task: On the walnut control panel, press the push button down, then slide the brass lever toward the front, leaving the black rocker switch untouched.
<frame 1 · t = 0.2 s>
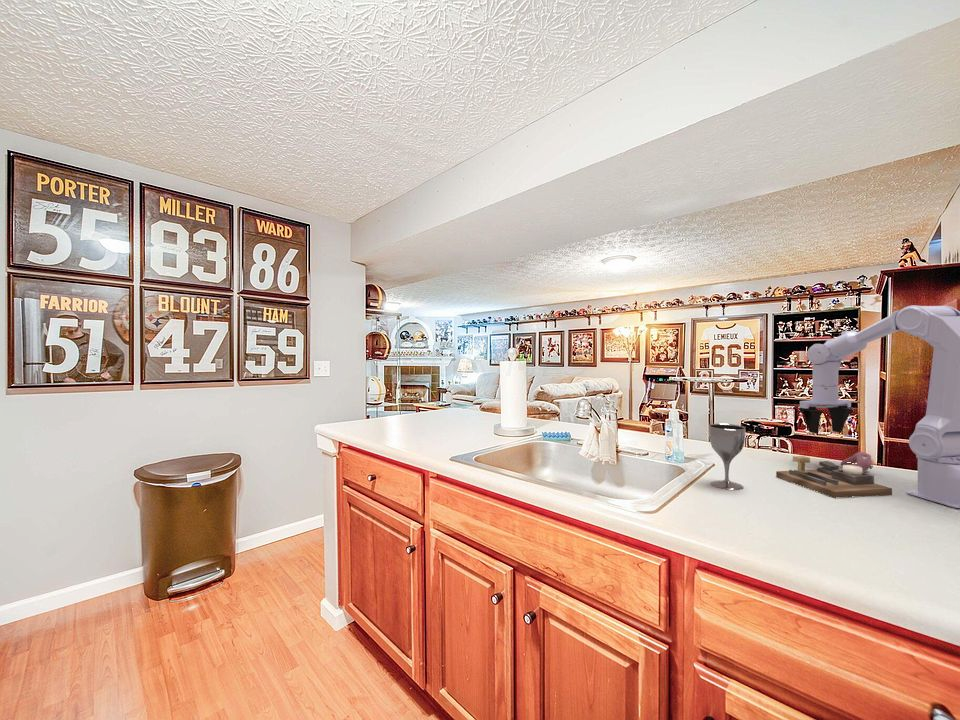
hand: (825, 432, 118), 10 cm above the counter, tool pointing down, fingers open, 7 cm apart
control panel: (830, 485, 102), on the counter
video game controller: (856, 473, 112), on the counter
rocker switch: (828, 465, 107), point 3 cm above the counter, hinge at -8.0°
slide lever: (801, 465, 105), point 4 cm above the counter, slide at 0.0 cm
wine glass: (726, 485, 103), on the counter
push button: (852, 470, 100), point 4 cm above the counter, slide at 0.0 cm
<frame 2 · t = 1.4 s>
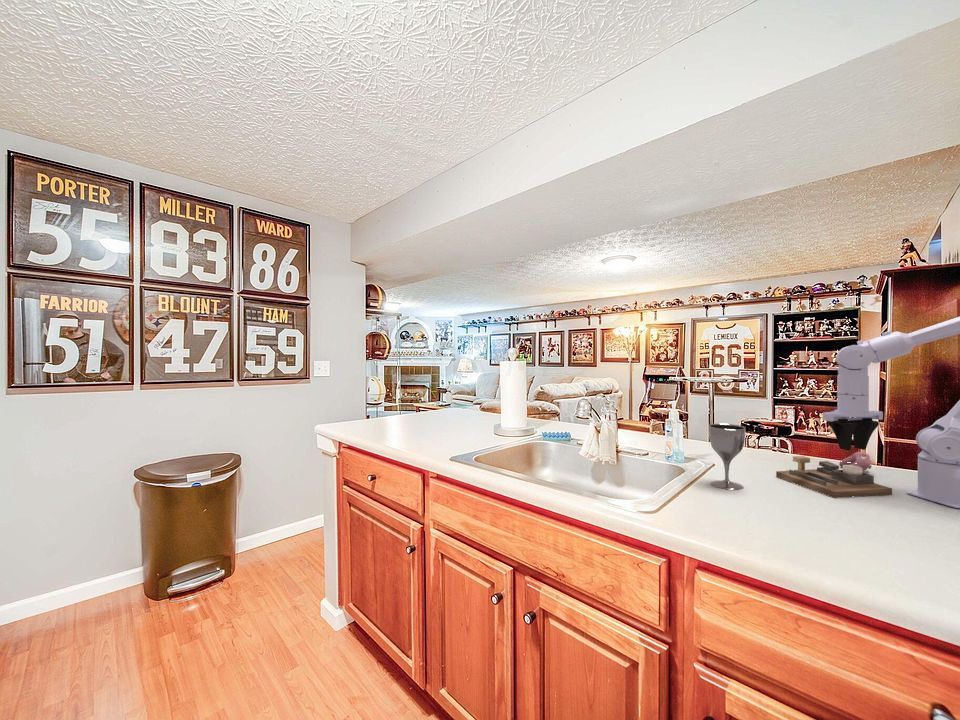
hand: (852, 449, 100), 9 cm above the counter, tool pointing down, fingers open, 4 cm apart
nothing on the counter moved.
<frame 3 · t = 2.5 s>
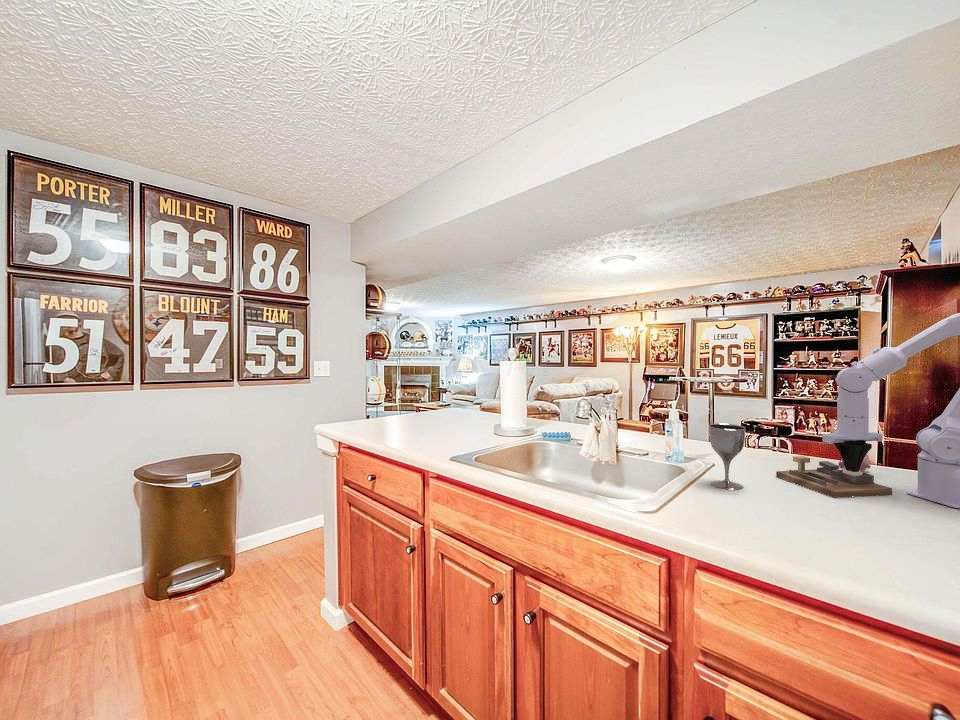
hand: (852, 470, 100), 4 cm above the counter, tool pointing down, fingers closed, pressing on push button
push button: (852, 474, 100), point 3 cm above the counter, slide at 1.0 cm, touching gripper
everything else where it was.
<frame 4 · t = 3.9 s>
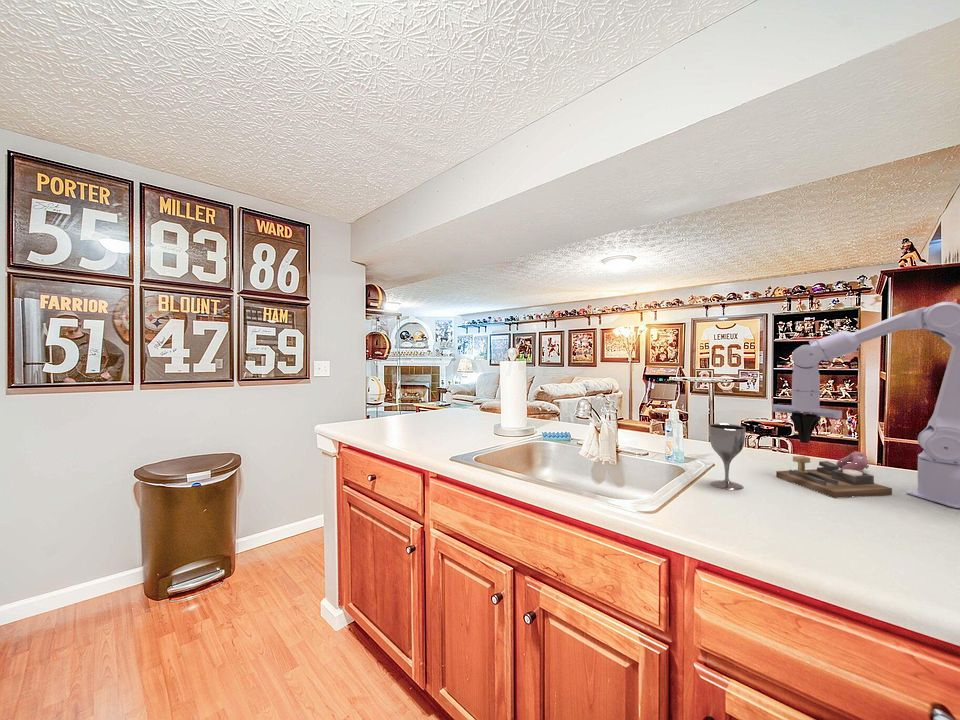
hand: (804, 442, 107), 10 cm above the counter, tool pointing down, fingers closed
push button: (852, 475, 100), point 3 cm above the counter, slide at 1.1 cm
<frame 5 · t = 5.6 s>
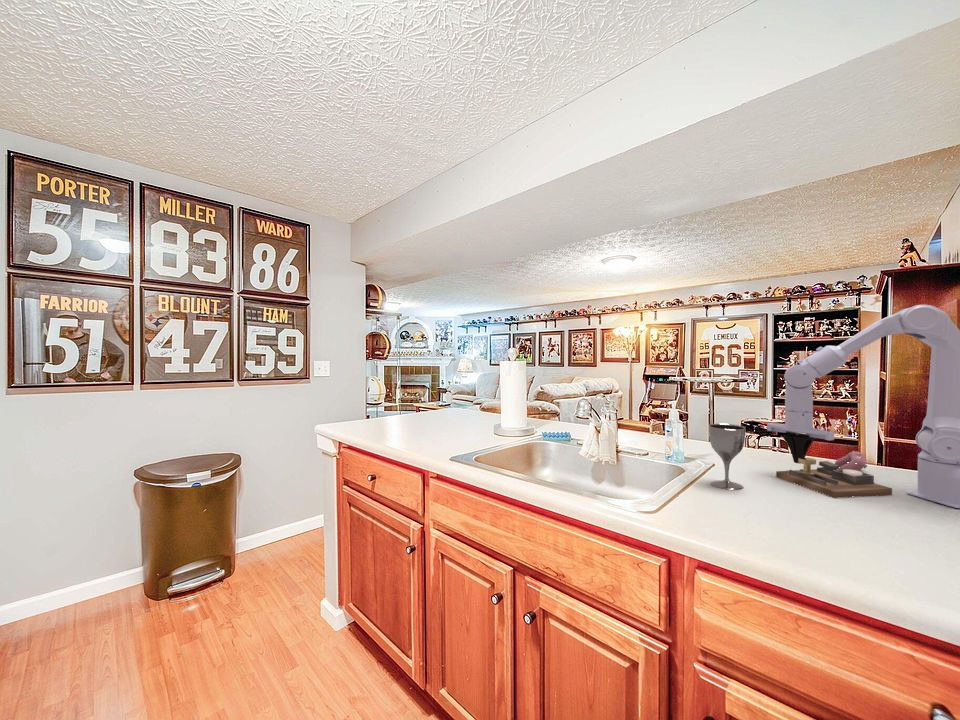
hand: (798, 462, 106), 5 cm above the counter, tool pointing down, fingers closed
slide lever: (807, 467, 104), point 4 cm above the counter, slide at 1.6 cm, touching gripper
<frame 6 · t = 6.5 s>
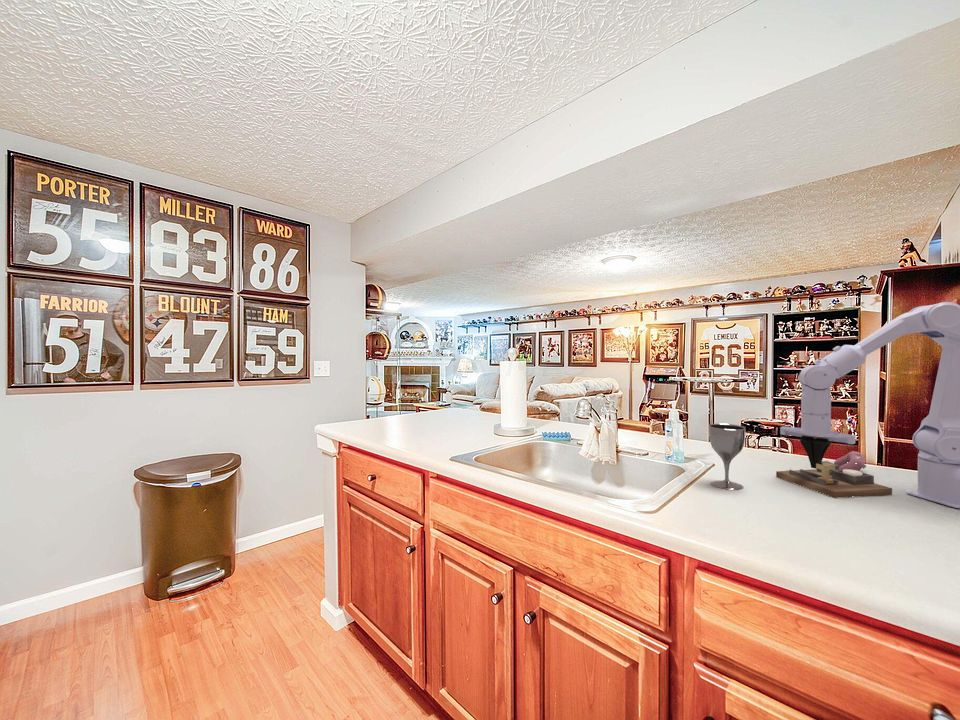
hand: (815, 467, 101), 5 cm above the counter, tool pointing down, fingers closed
slide lever: (825, 473, 99), point 4 cm above the counter, slide at 6.5 cm, touching gripper
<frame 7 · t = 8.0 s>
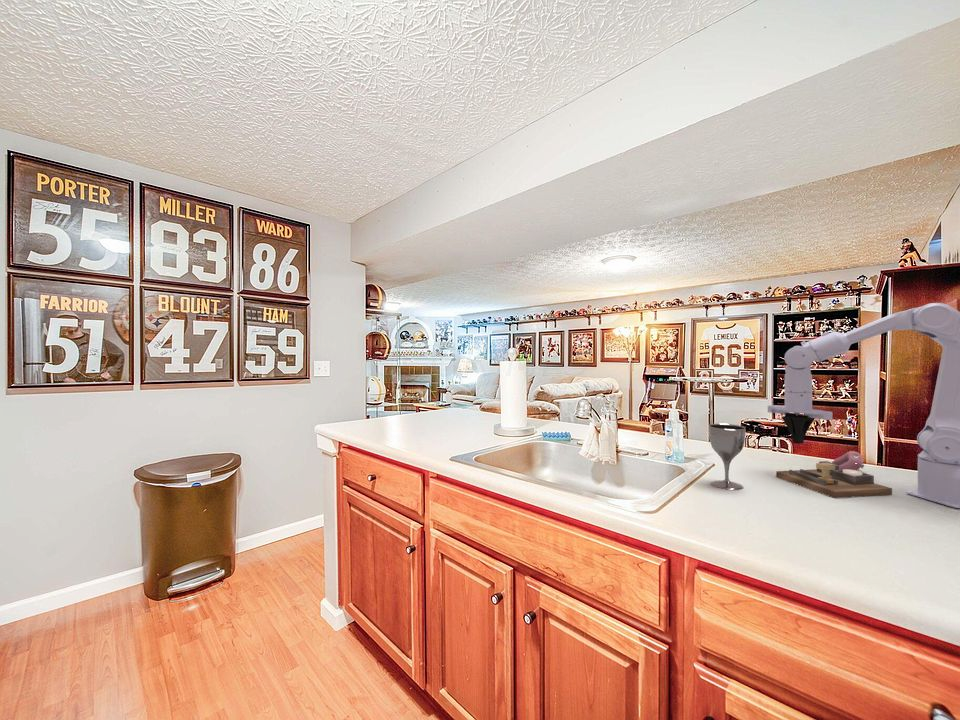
hand: (798, 443, 107), 9 cm above the counter, tool pointing down, fingers closed
slide lever: (825, 473, 99), point 4 cm above the counter, slide at 6.5 cm
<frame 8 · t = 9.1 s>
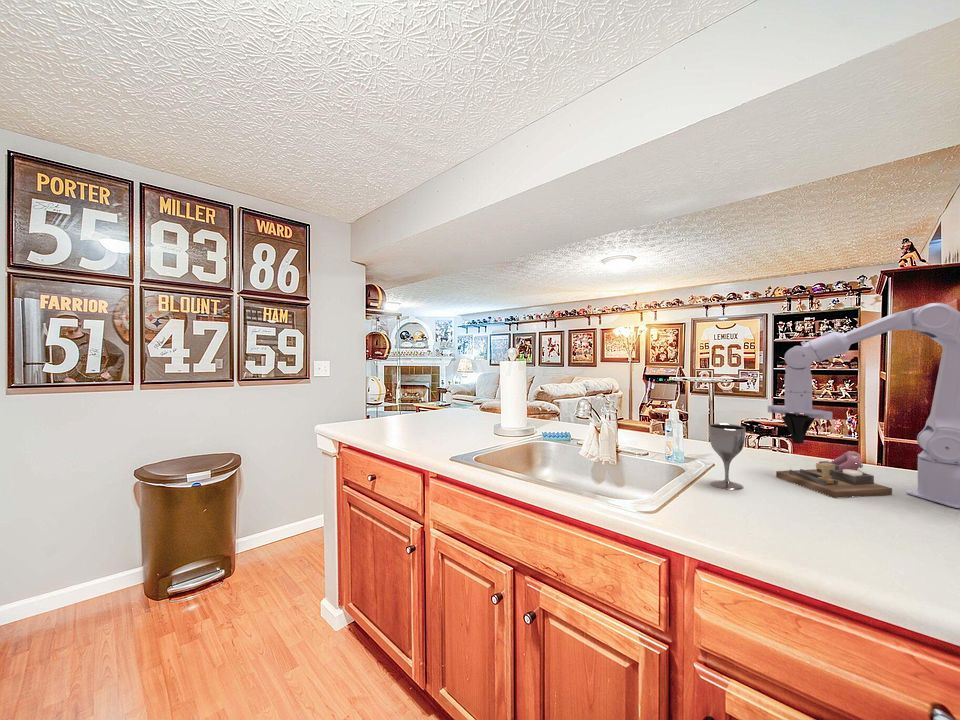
hand: (798, 443, 107), 9 cm above the counter, tool pointing down, fingers closed
at the end: push button slide at 1.1 cm; slide lever slide at 6.5 cm; rocker switch at -8° (first picture: -8°) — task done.
